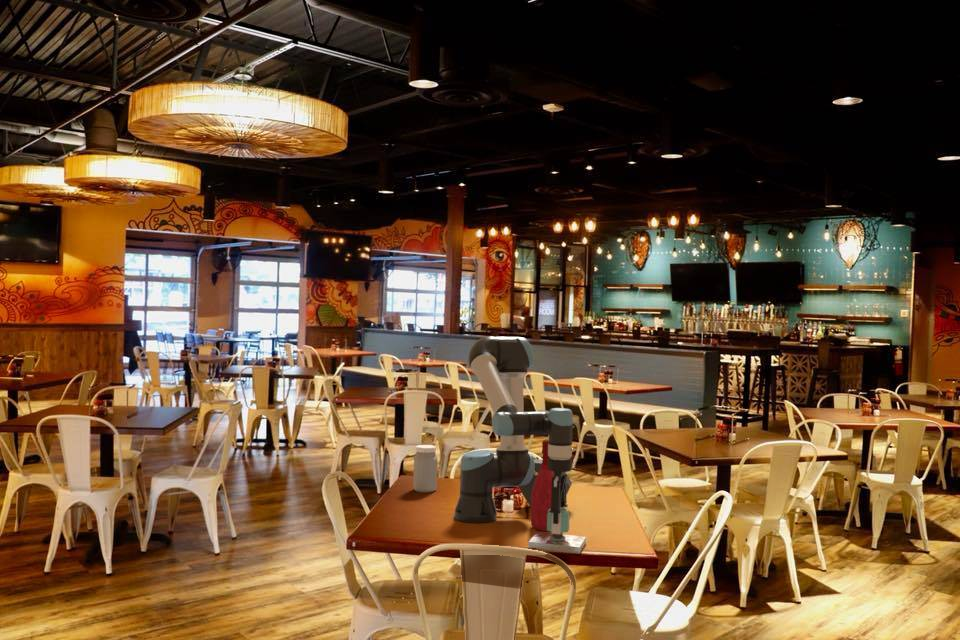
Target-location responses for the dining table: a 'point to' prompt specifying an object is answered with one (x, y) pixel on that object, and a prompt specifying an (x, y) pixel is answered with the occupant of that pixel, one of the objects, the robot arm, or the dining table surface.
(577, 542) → the stud base
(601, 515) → the dining table surface
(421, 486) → the jar
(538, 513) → the wine bottle
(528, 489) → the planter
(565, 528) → the cap
